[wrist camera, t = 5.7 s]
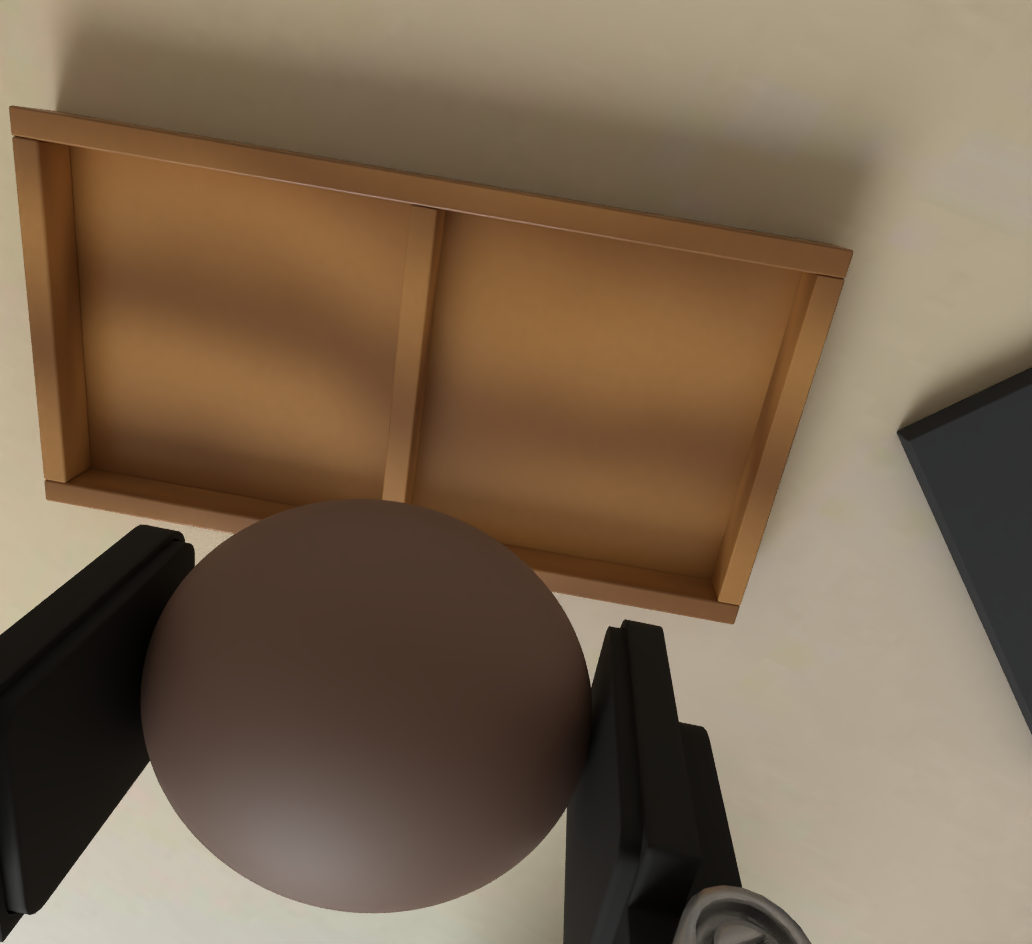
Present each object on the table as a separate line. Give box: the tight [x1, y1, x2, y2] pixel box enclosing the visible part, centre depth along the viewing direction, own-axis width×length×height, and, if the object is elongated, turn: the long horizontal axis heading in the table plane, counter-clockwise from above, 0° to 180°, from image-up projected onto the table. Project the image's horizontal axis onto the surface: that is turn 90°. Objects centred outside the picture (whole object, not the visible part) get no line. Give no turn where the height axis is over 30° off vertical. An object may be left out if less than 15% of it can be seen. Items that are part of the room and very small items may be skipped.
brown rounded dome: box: [141, 499, 592, 913], centre depth 10 cm, size 6×6×4 cm
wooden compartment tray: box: [9, 106, 853, 624], centre depth 24 cm, size 13×24×2 cm, turn 81°
